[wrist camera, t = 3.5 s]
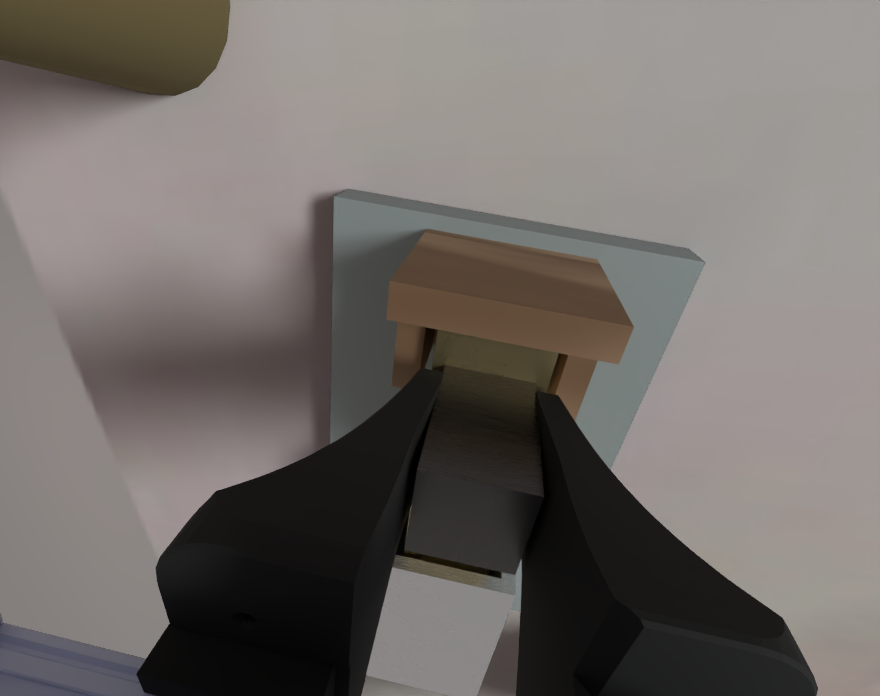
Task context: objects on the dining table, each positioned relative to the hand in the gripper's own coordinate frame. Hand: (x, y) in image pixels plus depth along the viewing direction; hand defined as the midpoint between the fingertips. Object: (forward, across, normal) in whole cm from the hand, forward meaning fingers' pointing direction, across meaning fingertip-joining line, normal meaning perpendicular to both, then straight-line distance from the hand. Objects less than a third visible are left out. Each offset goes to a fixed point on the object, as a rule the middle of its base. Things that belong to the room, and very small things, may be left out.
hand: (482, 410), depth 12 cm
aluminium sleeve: (+4, 0, +11) cm, 12 cm away
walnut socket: (+4, 0, -2) cm, 5 cm away
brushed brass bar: (+4, 0, +4) cm, 6 cm away
